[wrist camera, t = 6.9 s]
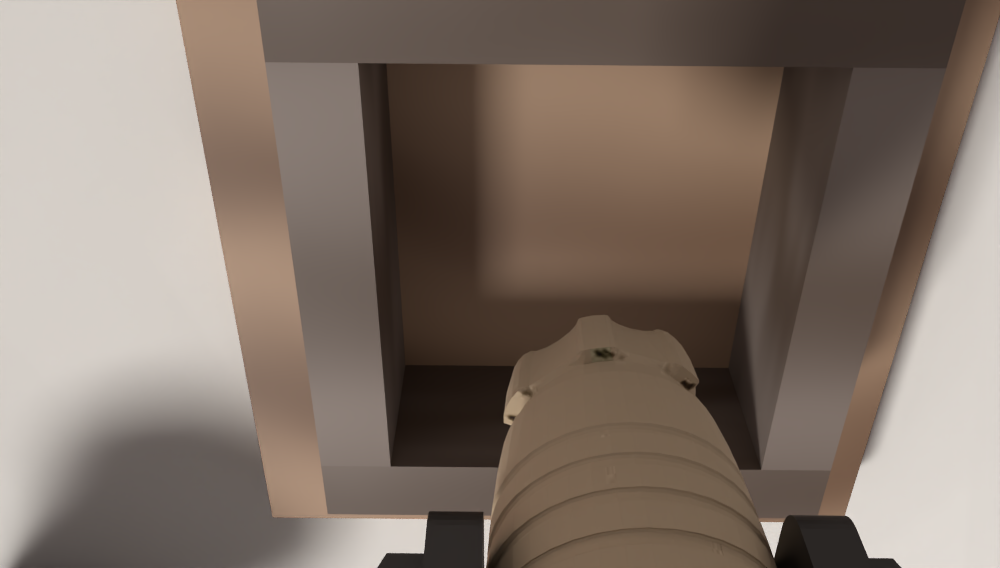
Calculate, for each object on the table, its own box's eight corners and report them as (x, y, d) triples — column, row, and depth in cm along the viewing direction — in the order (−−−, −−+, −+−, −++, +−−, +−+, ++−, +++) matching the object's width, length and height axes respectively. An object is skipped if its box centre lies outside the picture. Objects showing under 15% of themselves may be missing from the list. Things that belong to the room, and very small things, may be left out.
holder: (142, -346, 16) (12, -355, 12) (1062, -338, 16) (1260, -344, 12) (283, 478, 27) (243, 624, 23) (826, 483, 27) (885, 630, 23)
